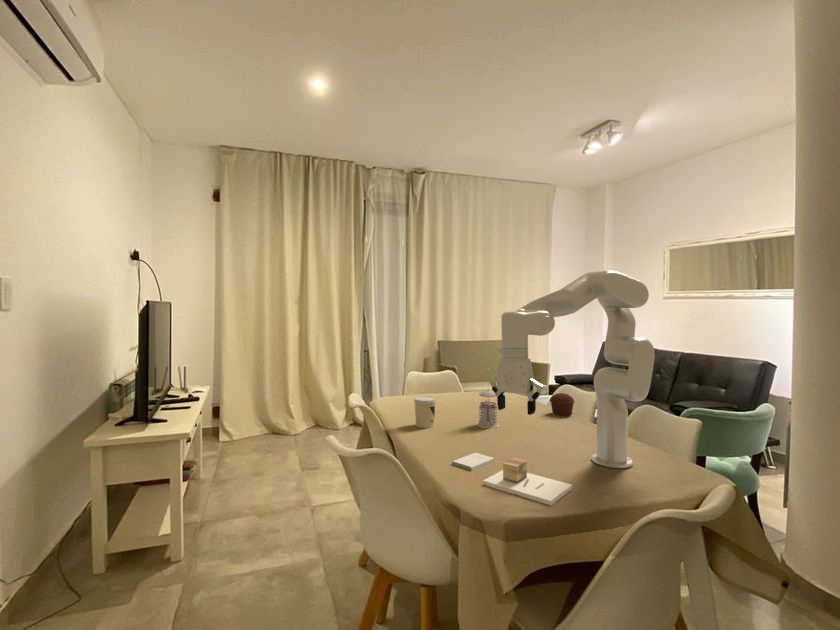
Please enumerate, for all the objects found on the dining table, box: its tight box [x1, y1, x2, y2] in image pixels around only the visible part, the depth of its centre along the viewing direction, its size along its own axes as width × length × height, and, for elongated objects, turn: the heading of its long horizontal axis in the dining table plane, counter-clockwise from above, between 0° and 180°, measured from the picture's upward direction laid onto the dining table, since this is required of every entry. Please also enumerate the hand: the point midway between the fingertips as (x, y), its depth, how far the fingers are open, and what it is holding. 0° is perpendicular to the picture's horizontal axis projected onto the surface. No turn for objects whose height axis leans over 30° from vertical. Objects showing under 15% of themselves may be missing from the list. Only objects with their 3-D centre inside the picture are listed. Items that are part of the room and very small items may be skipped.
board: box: [482, 469, 573, 506], centre depth 128 cm, size 14×21×1 cm, turn 49°
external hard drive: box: [451, 452, 495, 471], centre depth 148 cm, size 2×8×12 cm
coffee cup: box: [413, 396, 437, 429], centre depth 194 cm, size 9×9×12 cm
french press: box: [476, 368, 500, 429], centre depth 193 cm, size 10×12×25 cm
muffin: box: [549, 392, 576, 417], centre depth 214 cm, size 12×11×10 cm
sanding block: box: [502, 457, 528, 484], centre depth 130 cm, size 6×4×5 cm
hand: (516, 411), depth 130 cm, fingers open, 9 cm apart
